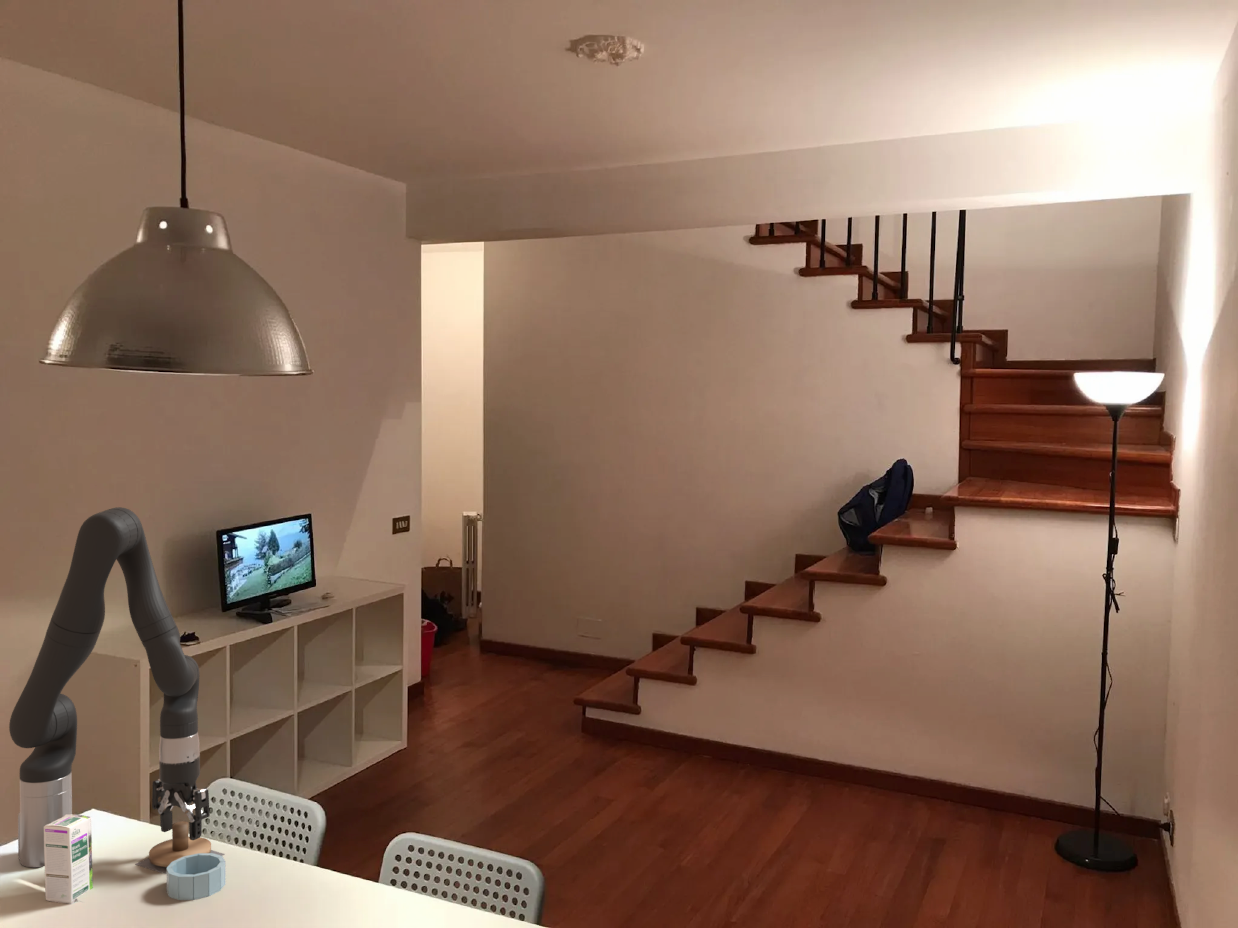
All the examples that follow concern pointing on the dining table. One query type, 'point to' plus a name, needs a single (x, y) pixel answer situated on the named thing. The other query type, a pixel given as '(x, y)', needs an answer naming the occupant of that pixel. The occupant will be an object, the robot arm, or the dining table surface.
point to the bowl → (195, 876)
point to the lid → (178, 846)
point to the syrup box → (68, 858)
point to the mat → (161, 869)
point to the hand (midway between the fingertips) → (181, 834)
